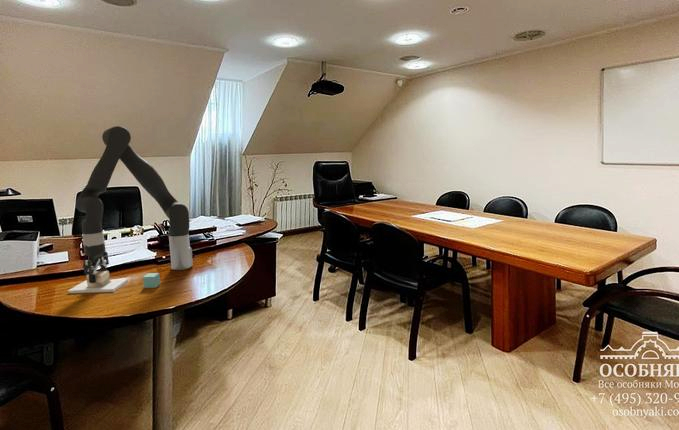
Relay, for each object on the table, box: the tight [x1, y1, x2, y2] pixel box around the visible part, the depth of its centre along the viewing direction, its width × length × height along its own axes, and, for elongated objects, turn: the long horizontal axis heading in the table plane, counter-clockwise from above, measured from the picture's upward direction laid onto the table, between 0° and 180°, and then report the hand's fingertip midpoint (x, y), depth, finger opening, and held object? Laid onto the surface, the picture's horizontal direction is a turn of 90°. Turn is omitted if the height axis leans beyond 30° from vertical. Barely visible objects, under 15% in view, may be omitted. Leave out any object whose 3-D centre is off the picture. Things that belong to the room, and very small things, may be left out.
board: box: [67, 278, 129, 294], centre depth 157 cm, size 18×12×1 cm, turn 95°
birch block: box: [85, 270, 111, 287], centre depth 156 cm, size 6×6×5 cm
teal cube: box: [142, 272, 161, 289], centre depth 158 cm, size 5×5×5 cm
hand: (98, 279), depth 156 cm, fingers open, 8 cm apart
